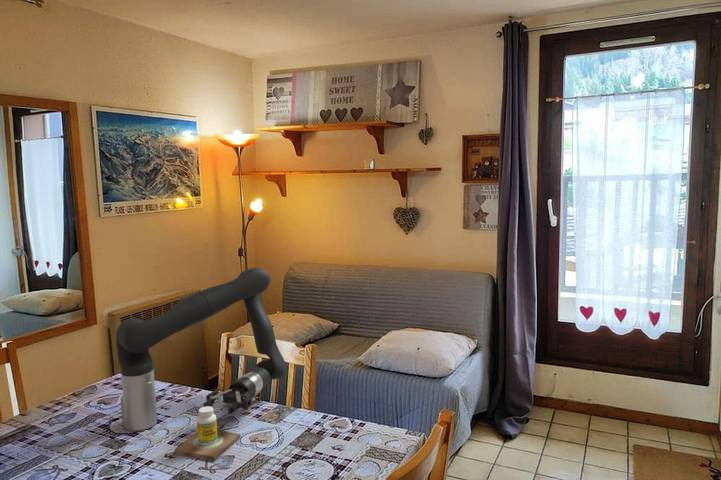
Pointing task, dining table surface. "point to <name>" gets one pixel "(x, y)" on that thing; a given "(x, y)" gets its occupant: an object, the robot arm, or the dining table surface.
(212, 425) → the supplement bottle
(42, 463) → the dining table surface
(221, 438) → the walnut board
